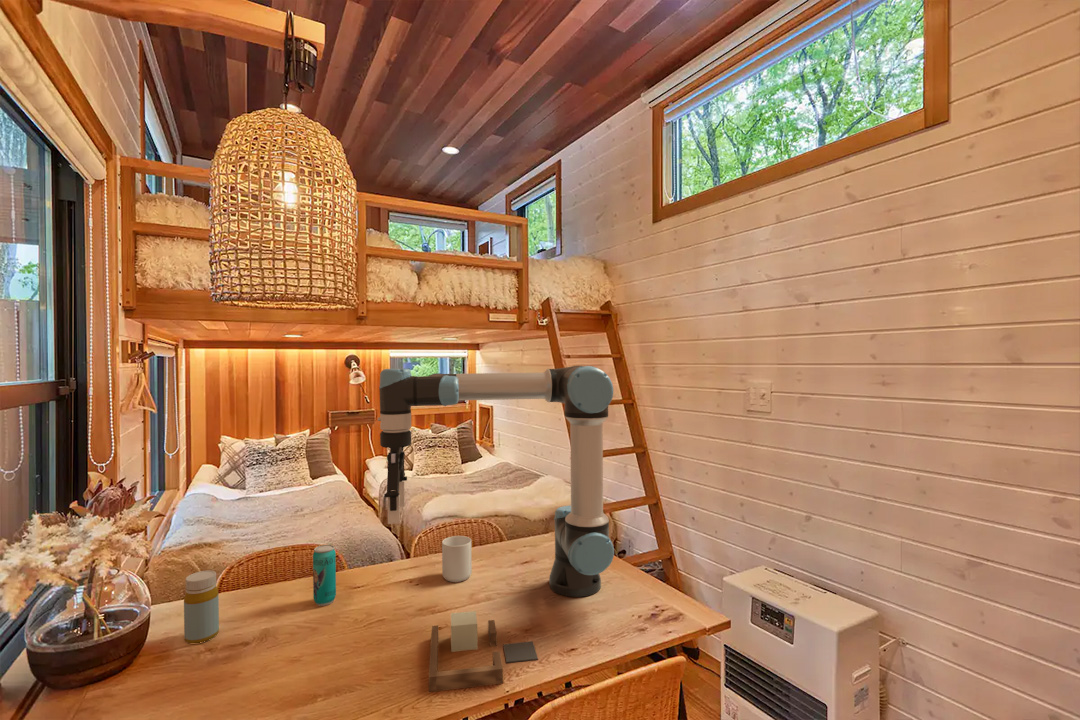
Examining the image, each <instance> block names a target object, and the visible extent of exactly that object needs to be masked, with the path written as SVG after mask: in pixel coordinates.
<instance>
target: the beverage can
mask: <svg viewBox="0 0 1080 720" xmlns="http://www.w3.org/2000/svg"><path fill="white" fill-rule="evenodd" d="M313 551H314V552H313V553H312V585H313V586H312V587H313V591H312V593H313V594H312V595H313V596H312V597H313V601H314V603H315V604H316V606H318V607H319V606H320V607H326V606H329V605H331V604H332V603H334V601H335V599H336V596H337V579H336V578H337V574H336V573H337V571H336V570H337V569H336V568H337V566H336V565H337V563H336V562H337V561H336V560H337V559H336V556H337V555H336V552H337V551H336V550H335V545H333V544H323V545H318V546H316V547H315V548H314V549H313Z"/></svg>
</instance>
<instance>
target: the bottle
mask: <svg viewBox="0 0 1080 720" xmlns="http://www.w3.org/2000/svg"><path fill="white" fill-rule="evenodd" d="M219 599H220V596H219V589H218V587H217V572H216V571H214V570H202V571H197V572H194V573H192V574H189V575H188V576H186V577H185V594H184V596H183V621H184V622H183V624H184V626H183V627H184V629H183V630H184V631H183V632H184V633H183V634H184V641H185V642H186V643H187V644H189V643H200V642H204V641H206V642H208V641H207V640H209V639H211V638H213V637H214V636H215V635H216V636H217V635H218V634H219V632H220V616H219V615H220V608H219V605H220V604H219V603H220V602H219ZM216 636H215V637H216ZM215 637H214V638H215ZM214 638H213V639H214ZM211 640H212V639H211ZM209 641H210V640H209ZM204 643H205V642H204ZM200 644H201V643H200Z"/></svg>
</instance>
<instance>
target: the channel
mask: <svg viewBox="0 0 1080 720" xmlns="http://www.w3.org/2000/svg"><path fill="white" fill-rule="evenodd" d="M495 621H496V620H495V619H489V620H488V621H487V627H488V628H487V629H488V631H487V632H488V640H489V646H490V647H496V646H497V645H498V644H497V643H498V641H497V639H498V635H497V627H496V622H495ZM429 652H430V653H429V667H428V693H432V692H440V691H447V690H448V691H449V690H455V689H456V690H459V689H465V688H474V687H481V686H492V685H499V684H501V685H502V684H504V670H503V669H504V668H503V667H504V666H503V663H502V662H503V661H502V656H501V651H500V650H498V651H493V652H492V665H488V666H487V665H486V666H485V665H484V666H477V667H470V668H459V669H452V670H451V669H450V670H444V671H443V670H441V671H438V659H439V656H438V655H439V653H438V652H439V625H431V634H430V651H429Z"/></svg>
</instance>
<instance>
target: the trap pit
mask: <svg viewBox="0 0 1080 720" xmlns="http://www.w3.org/2000/svg"><path fill="white" fill-rule="evenodd" d="M502 647H503V651H504V652H503V653H504V656H505V662H506V664H511V663H520V662H522V663H523V662H527V661H528V662H530V661H538V659H539V658H538V655H537V652H536V648H535V645H534V641H533V640H531V641H523V642H521V641H520V642H512V643H504V644H503V645H502Z"/></svg>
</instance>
